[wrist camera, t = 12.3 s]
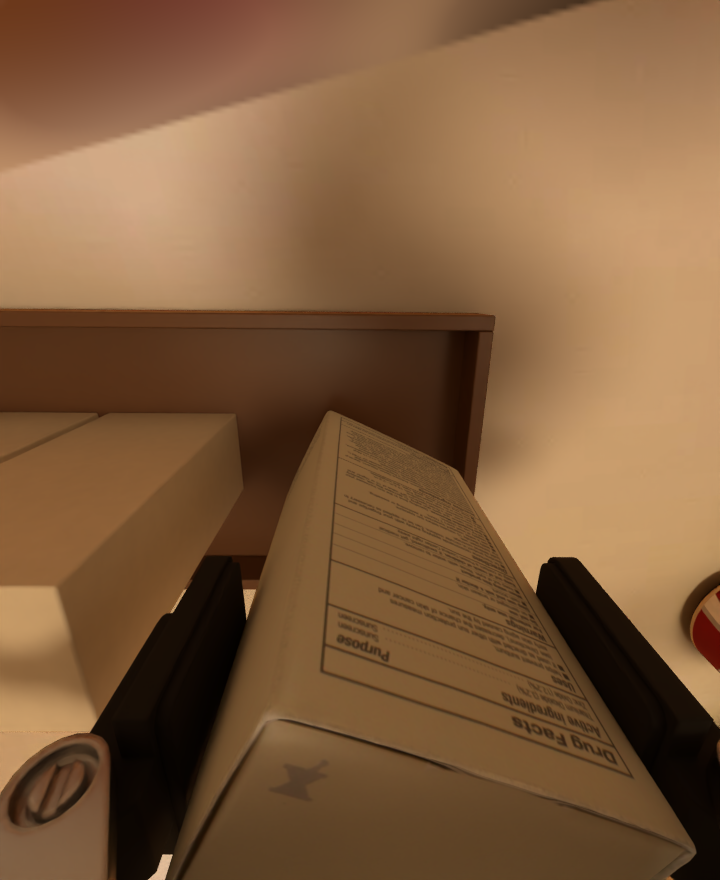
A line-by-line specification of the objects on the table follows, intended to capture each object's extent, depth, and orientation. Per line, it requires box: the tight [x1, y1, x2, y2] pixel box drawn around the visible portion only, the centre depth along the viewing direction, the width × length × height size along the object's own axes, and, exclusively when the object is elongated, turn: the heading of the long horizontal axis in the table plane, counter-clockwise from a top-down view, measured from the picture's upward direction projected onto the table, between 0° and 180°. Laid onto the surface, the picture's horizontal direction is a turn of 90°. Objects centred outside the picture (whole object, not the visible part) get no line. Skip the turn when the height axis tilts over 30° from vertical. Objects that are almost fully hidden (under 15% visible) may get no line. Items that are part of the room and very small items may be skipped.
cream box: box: [0, 413, 243, 732], centre depth 14 cm, size 4×6×12 cm, turn 90°
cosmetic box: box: [165, 411, 696, 880], centre depth 11 cm, size 6×4×12 cm
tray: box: [0, 309, 495, 589], centre depth 19 cm, size 13×25×2 cm, turn 90°
